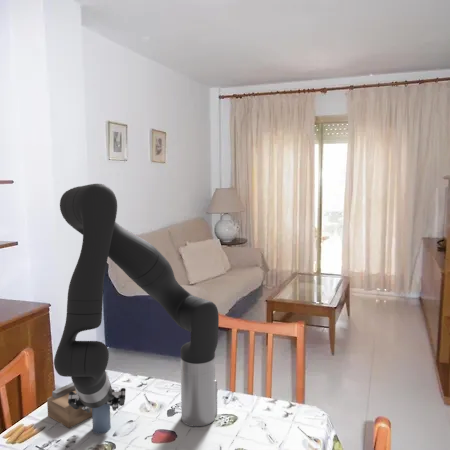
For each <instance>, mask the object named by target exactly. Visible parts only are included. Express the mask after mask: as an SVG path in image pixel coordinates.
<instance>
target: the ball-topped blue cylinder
mask: <svg viewBox="0 0 450 450" xmlns="http://www.w3.org/2000/svg"><path fill="white" fill-rule="evenodd" d="M91 418H92V419H91V421H92V432H93V433H94V434H98V435H99V434H105V433H108V432H109V431H110V430H111V428H112V426H111V406H109V407H107V406H105V405H102V406H100V407H98V408H92V417H91Z"/></svg>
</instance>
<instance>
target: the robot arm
mask: <svg viewBox="0 0 450 450" xmlns="http://www.w3.org/2000/svg"><path fill="white" fill-rule="evenodd" d="M59 210H60V212H61V213H60V214H61V216H62V217H63V219H64V220H65V222H66V223H67V224H68V225H69V226H70V227H72V228H73V229H74V230H75V231H77V232H78V233H79V234H81V235H82V243H81V250H80V253H79V256H78V260H77V262H76V264H75V268H74V270H73V272H72V276H71V278H70V281H69V284H68V290H67V302H66V315H65V316H66V317H65V323H64V328H63V331H62V335H61V339H60V341H59V344H58V347H57V348H56V352H55V355H54V360H53V367H54V370H55V372H56V373H57V374H58V375H59V376H61V377H67V378H68V377H70V378H71V381H72V383H74V385H75V389H76V393H74V392H69V398H68V403H69V404H70V405H71V406H72V407H73V408H74V409H79V407H82V409H84V411H87V413H90V410H91V408H98V407H100V406H102V405H105V406H107V407H109V406H110V407H111V408H112V411H117V409H119V407H120V406H121V407H122V406H125V401H126V391H127V390H126V388H125V387H121V388H120V390H118V391H116V390H114V389H113V388H112V383H111V382H110V381H111V380H110V378H109V374H107V371H106V370H107V367H108V363H109V357H110V354H109V353H110V352H109V349H108V346H107V345H106V344H105V343H104V342H102V341H99V340H77V335H78V334H80V333H82V332H85V331H88V330H89V331H90V330H95V329H97V328H99V327H100V326H101V325H102V320H103V304H104V302H103V301H104V285H105V275H106V270H107V264H108V259H110V260H111V261H112V262H113V263H114V264H116V265H117V266H118V267H119V268H120V269H121V270H122V271H123V272H124V274H125V275H127V276H128V277H129V279H131V280H132V281H133V282H134V284H136V285H137V286H138V287H139V288H140V289H142V290H143V291H144V292H145V293H146V294H148V295H149V297H151V298H152V299H154V300H155V301H156V302H157V303H159V304H160V306H161V307H162V308H163V309H164V310H165V311H166V313H167V314H168V315H169V317H171V319H172V320H173V321H174V322H175V324H176V325H177V326H178V327H180V328H181V329H183V330H185V331H187V332H190V340H189V342H188V341H187V342H185V343H184V344H183V345H182V346H181V347H180V385H181V386H180V400H181V401H180V403H181V404H180V405H181V409H180V410H181V411H180V412H181V413H180V414H181V421H182V422H183V423H184V424H185V425H188V426H190V427H204V426H208V425H209V424H211V423H213V422H214V420H215V418H216V415H218V381H217V380H216V357H215V356H216V351H217V347H218V342H219V327H220V326H219V323H220V322H219V321H220V320H219V319H220V317H219V316H220V315H219V310H218V307H217V305H216V304H215V303H214V302H213V301H211V300H208V299H205V298H202V297H198V296H195V295H193V294H191V293H190V292H189V291H187V290H186V289H185V288H184V287H183V286H182V285H181V284H180V283H178V280H177V279H176V277H175V273H174V270H173V268H172V266H171V264H170V262H169V261H168V260H167V258H166V257H165V256H164V255H163V254H162V253H161V252H160V251H159V250H158V249H157V247H156V246H154V245H153V244H152V243H150V242H149V241H147V240H146V239H144V238H142V237H140V236H139V235H137V234H135V233H134V232H131V231H129V230H128V229H126V228H124V227H123V226H121V225H120V224H119V223H118V222H117V221H116V220H117V214H118V200H117V197H116V194H115V193H114V191H113V190H112V189H111V188H110V187H109V186H107V185H106V184H102V183H90V184H85V185H80V186H74V187H72V188H70V189H67V190H66V191H65V192H64V193H63V194H62V195H61V198H60V200H59Z"/></svg>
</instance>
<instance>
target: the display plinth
mask: <svg viewBox="0 0 450 450" xmlns="http://www.w3.org/2000/svg"><path fill="white" fill-rule="evenodd" d="M69 392H74V393H76V389H75V385H74V383H73V382H71V383H69V384H66V385H64V386H62V387H59V388H57V389H55V390H52V392H51V393H52V396H49V397H47V400H46V402H47V403H46V404H47V416H48V417H49V418H51V419H53V420H54V421H56V422H58V423H59V424H61V425H63V426H65V427H66V428H68V429H70V428H73V427H74V426H76V425H78V424H80V423H81V422H84V421H86V420H88V419H90V418H92V408H91V410H90V413H87V411H84V409H82V407H79V409H74V408H73V407H72V406H71V405H70V404H69V403H68V398H69Z"/></svg>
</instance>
